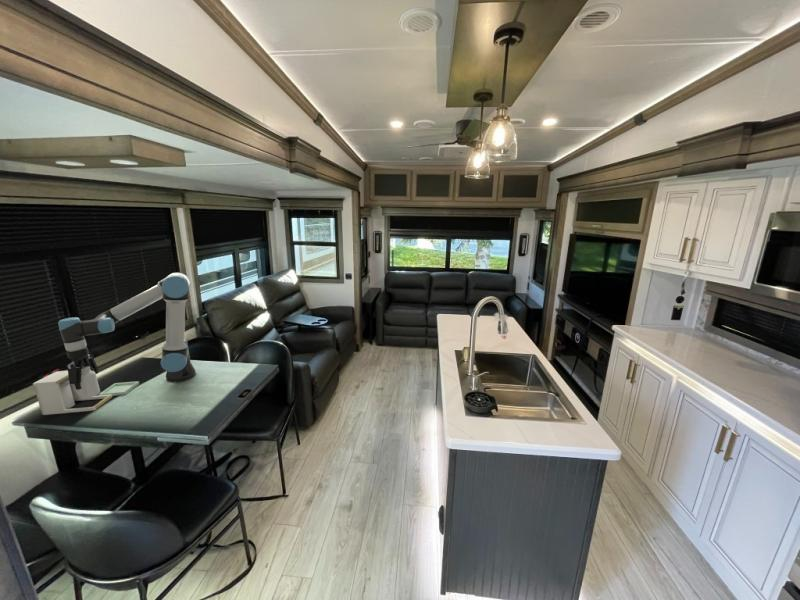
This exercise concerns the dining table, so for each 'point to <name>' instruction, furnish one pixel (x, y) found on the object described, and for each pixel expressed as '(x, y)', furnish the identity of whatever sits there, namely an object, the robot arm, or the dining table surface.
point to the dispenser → (61, 395)
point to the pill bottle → (89, 382)
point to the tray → (120, 388)
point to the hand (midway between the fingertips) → (88, 390)
